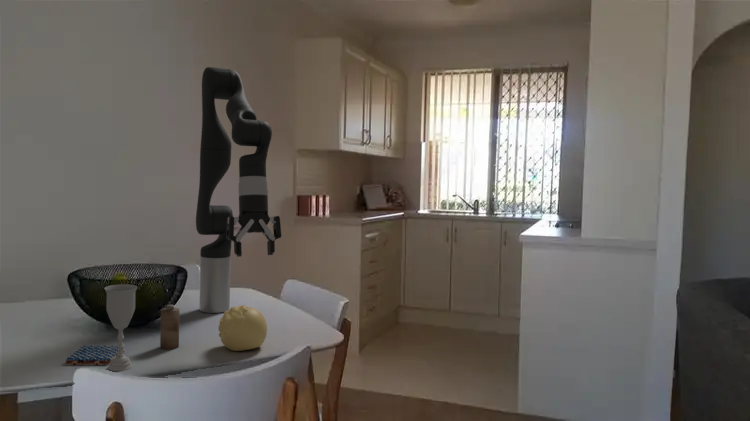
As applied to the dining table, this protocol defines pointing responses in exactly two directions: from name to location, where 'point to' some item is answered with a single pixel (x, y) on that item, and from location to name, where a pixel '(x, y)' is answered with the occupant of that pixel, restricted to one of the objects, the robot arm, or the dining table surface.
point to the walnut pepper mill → (169, 328)
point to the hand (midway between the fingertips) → (254, 255)
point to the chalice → (120, 319)
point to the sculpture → (242, 328)
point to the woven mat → (92, 356)
